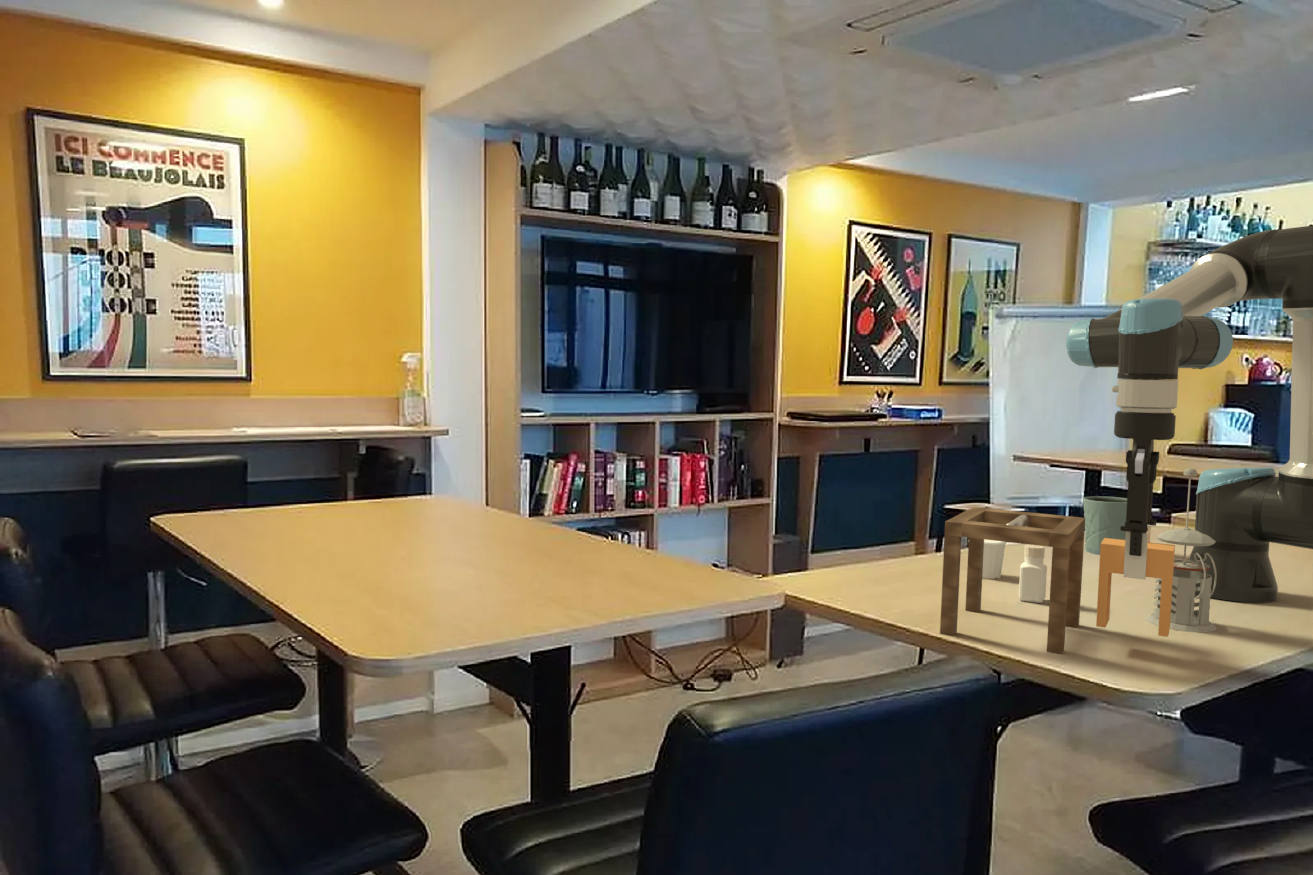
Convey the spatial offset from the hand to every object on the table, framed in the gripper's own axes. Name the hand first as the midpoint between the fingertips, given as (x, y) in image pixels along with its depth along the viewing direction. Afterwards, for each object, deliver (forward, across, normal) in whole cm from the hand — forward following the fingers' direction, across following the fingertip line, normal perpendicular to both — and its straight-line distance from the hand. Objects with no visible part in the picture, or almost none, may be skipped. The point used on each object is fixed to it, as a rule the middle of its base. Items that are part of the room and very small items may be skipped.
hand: (1136, 573), depth 130 cm
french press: (+12, -21, +6) cm, 24 cm away
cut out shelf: (+11, -2, -17) cm, 20 cm away
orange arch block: (+8, 0, 0) cm, 8 cm away
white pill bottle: (+12, -23, -17) cm, 31 cm away
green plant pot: (+12, -79, -11) cm, 80 cm away
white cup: (+12, -38, -28) cm, 48 cm away
